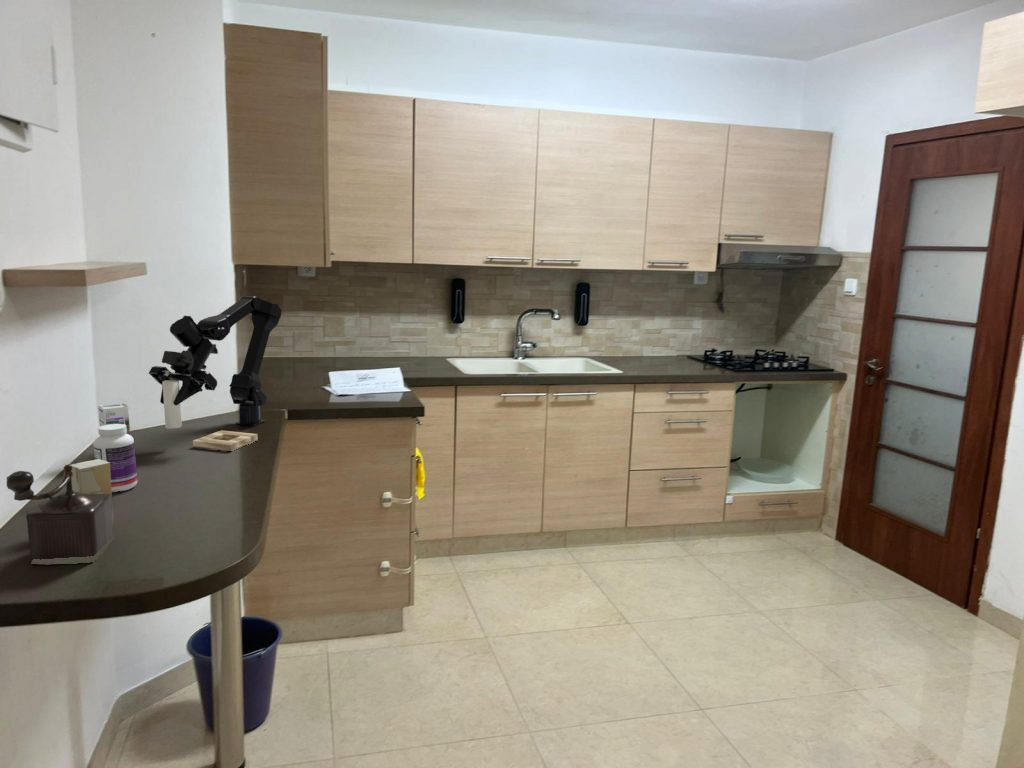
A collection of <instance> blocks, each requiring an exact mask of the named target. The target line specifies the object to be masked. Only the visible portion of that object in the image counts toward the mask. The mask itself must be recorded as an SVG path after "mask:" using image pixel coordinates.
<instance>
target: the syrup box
mask: <svg viewBox="0 0 1024 768" xmlns="http://www.w3.org/2000/svg"><path fill="white" fill-rule="evenodd" d="M97 413H98V423H99V424H98V425H99V427H100V426H104V425H109V424H124V425H126V428H127V432H126V434H129V435H131V427H130V415H129V406H128V405H127V404H126V403H124V402H117V403H111V404H110V403H109V404H98V405H97Z"/></svg>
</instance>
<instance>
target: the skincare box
mask: <svg viewBox="0 0 1024 768" xmlns="http://www.w3.org/2000/svg"><path fill="white" fill-rule="evenodd" d="M70 465H71V466H72V472H73V476H72V489H73V491H74V492H80V493H85V494H111V504H112V505H113V496H112V495H113V492H112V491H111V474H110V462H107V461H104V460H101V459H96V460H95V459H93V460H88V461H87V460H86V461H82V462H77V463H72V464H70ZM113 508H114V507H112V517H113V518H114V514H113V512H114V511H113Z"/></svg>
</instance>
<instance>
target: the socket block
mask: <svg viewBox="0 0 1024 768" xmlns="http://www.w3.org/2000/svg"><path fill="white" fill-rule="evenodd" d="M255 441H257V442H258V441H259V438H258V433H249V432H240V431H230V430H219V431H215V432H213V433H210V434H208V435H205V436H202V437H200V438H197V439H193V440H192V448H193V449H200V450H201V449H202V450H211V451H217V450H221V451H220V452H226V451H233V452H235V451H237V450H236V449H238V448H240V449H242V448H244V447H243V446H245V445H247V446H249V445H252V444H254V443H256V442H255ZM253 442H254V443H253ZM251 443H252V444H251ZM248 444H249V445H248ZM241 447H242V448H241ZM245 447H246V446H245ZM234 450H235V451H234ZM238 450H239V449H238Z"/></svg>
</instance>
